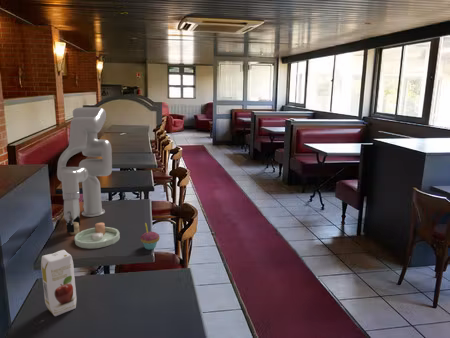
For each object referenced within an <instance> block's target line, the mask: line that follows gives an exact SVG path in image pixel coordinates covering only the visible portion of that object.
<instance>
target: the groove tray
mask: <svg viewBox="0 0 450 338" xmlns="http://www.w3.org/2000/svg"><path fill="white" fill-rule="evenodd" d="M120 234H121V233H120V231H119V229H117V228H115V227H108V226H105V234H104V235H103V233H96V230H95V227H91V228H87V229H83V230H81V231H79V233H77V234H76V235H75V236H74V244H75V245H76V246H77V247H79V248H82V249H99V248H105V247H108V246H112V245H114V244H116V243H117V242H119V240H120V238H121V237H120V236H121V235H120Z"/></svg>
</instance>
